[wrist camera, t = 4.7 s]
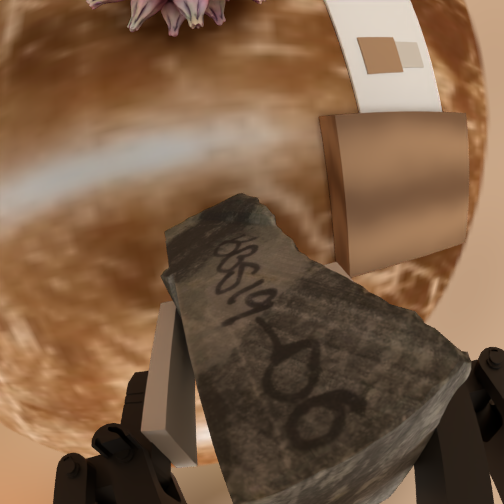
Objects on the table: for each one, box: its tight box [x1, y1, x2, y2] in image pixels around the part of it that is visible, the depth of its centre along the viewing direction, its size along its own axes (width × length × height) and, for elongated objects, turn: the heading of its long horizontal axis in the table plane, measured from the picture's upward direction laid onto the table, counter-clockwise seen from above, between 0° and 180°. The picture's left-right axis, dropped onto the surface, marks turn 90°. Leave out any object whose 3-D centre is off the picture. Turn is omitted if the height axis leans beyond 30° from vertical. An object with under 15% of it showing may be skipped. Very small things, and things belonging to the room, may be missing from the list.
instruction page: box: [324, 0, 442, 113], centre depth 18 cm, size 12×9×1 cm
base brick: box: [319, 111, 469, 278], centre depth 21 cm, size 12×13×3 cm
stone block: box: [161, 193, 471, 504], centre depth 11 cm, size 9×14×5 cm
